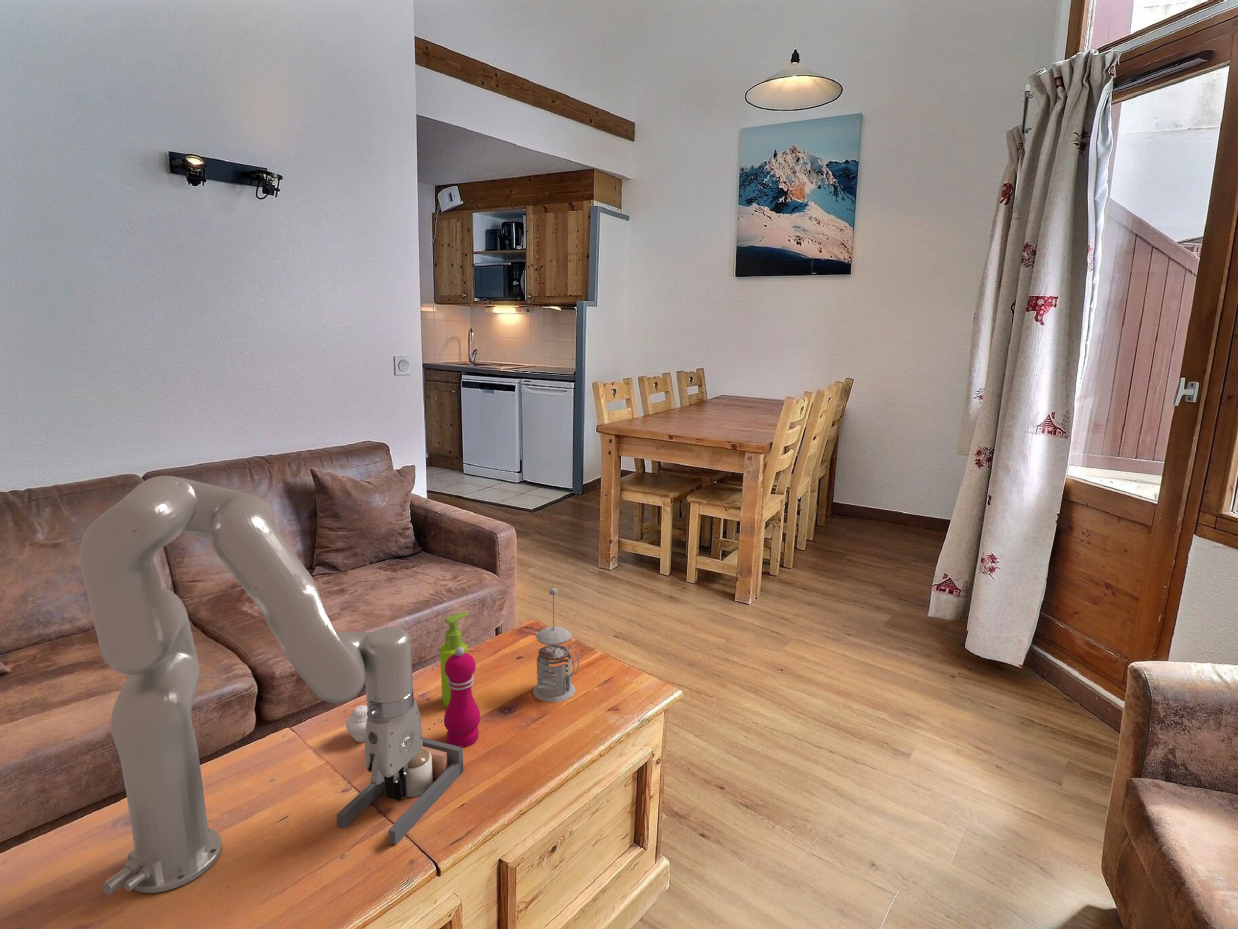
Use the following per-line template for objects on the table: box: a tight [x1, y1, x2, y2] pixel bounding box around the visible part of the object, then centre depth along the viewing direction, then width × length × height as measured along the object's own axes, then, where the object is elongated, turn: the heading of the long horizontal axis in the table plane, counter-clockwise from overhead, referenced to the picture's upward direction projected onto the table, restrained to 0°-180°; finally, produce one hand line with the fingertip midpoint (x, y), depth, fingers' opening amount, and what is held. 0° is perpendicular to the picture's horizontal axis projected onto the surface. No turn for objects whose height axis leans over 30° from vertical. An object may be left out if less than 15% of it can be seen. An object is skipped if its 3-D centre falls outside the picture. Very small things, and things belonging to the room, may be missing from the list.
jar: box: [405, 748, 434, 798], centre depth 125 cm, size 6×6×6 cm
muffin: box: [345, 705, 368, 743], centre depth 139 cm, size 6×6×7 cm
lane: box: [336, 737, 464, 846], centre depth 122 cm, size 20×12×5 cm, turn 160°
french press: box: [532, 587, 580, 703], centre depth 156 cm, size 10×12×25 cm
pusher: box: [422, 746, 447, 780], centre depth 128 cm, size 1×8×5 cm, turn 71°
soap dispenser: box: [439, 612, 469, 708], centre depth 152 cm, size 6×7×20 cm
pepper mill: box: [443, 647, 481, 748], centre depth 138 cm, size 7×7×20 cm
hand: (396, 796), depth 120 cm, fingers closed
